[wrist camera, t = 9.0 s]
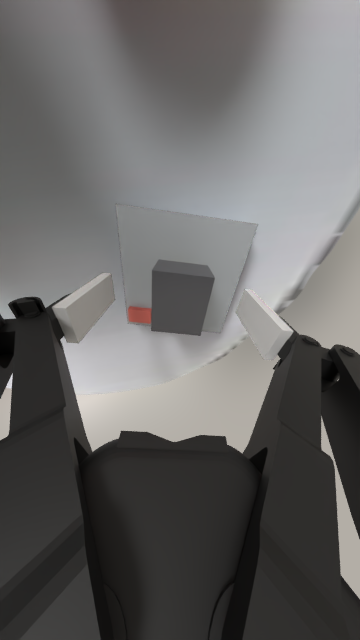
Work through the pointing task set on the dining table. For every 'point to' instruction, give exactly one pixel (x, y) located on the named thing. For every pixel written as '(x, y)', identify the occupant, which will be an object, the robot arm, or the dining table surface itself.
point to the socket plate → (180, 256)
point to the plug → (180, 296)
